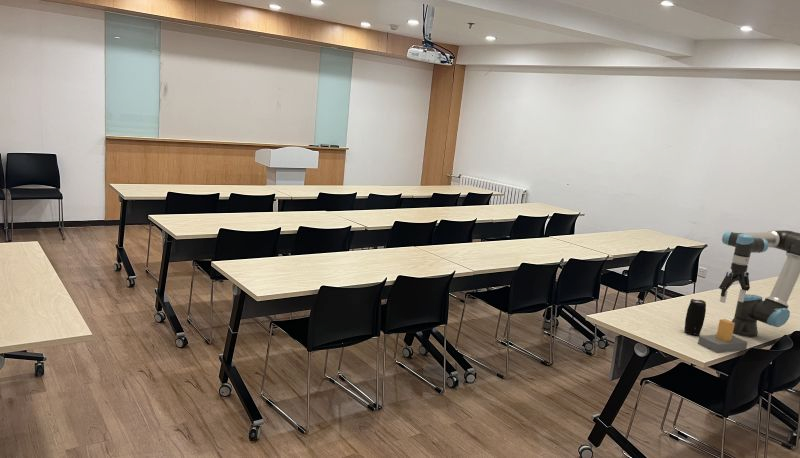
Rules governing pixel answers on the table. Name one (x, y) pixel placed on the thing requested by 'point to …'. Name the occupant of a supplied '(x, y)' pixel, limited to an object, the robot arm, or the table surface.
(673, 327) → the table surface
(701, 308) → the portable speaker
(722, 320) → the plug
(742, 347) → the grey slotted base
